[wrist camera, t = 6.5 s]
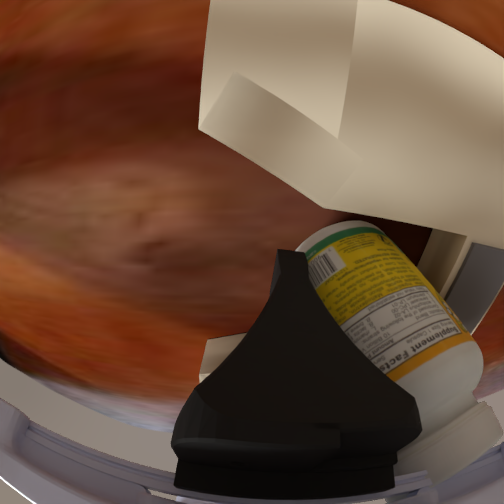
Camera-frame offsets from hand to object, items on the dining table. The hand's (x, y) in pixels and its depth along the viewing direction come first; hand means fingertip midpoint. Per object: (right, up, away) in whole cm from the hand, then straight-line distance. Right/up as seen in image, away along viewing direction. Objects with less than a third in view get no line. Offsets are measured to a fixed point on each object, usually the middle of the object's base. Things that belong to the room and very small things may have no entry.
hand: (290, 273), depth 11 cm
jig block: (+4, 0, +3) cm, 4 cm away
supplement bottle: (+2, 0, +2) cm, 3 cm away
